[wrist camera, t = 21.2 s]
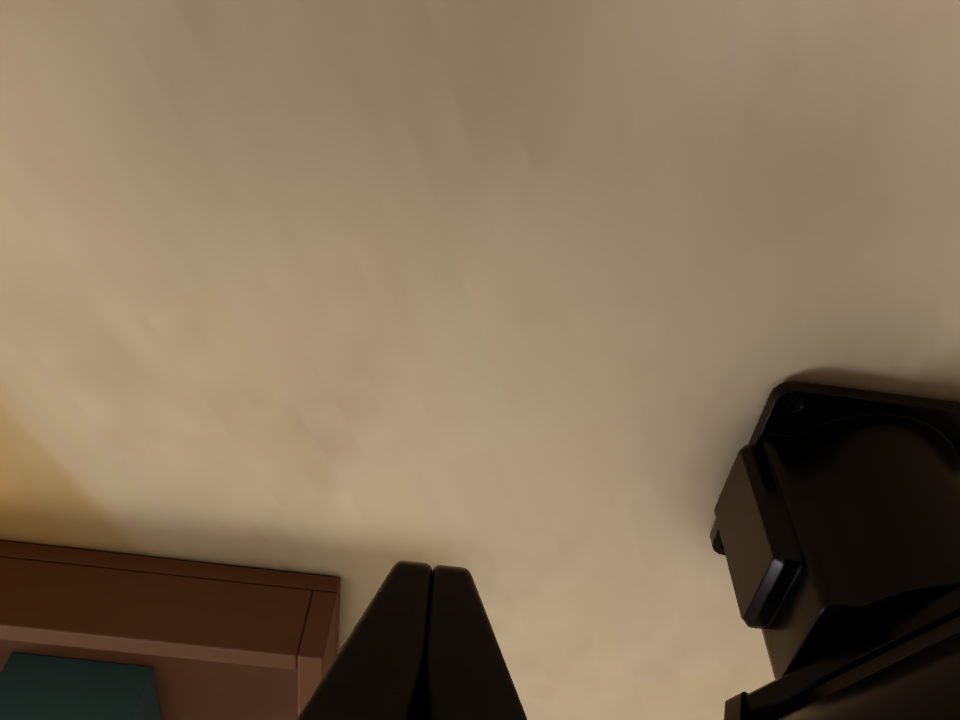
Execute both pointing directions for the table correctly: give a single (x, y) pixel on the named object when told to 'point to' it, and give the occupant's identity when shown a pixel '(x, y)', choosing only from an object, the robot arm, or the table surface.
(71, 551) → the tray
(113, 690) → the block
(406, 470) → the table surface
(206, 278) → the table surface
